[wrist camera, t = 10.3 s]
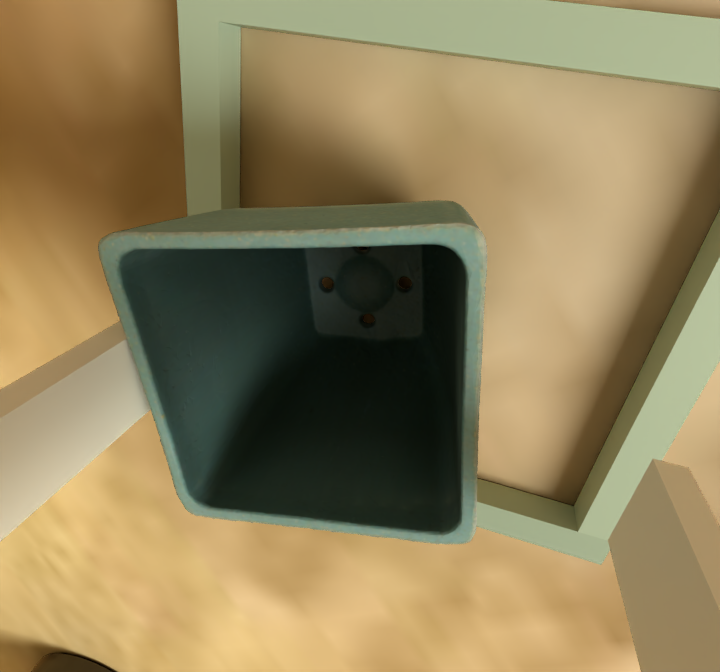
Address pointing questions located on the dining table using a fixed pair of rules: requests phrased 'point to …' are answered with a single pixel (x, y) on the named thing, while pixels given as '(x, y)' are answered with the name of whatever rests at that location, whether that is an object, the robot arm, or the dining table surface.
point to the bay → (518, 46)
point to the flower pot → (313, 362)
